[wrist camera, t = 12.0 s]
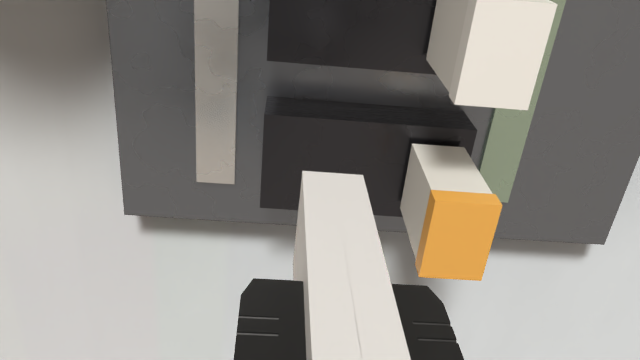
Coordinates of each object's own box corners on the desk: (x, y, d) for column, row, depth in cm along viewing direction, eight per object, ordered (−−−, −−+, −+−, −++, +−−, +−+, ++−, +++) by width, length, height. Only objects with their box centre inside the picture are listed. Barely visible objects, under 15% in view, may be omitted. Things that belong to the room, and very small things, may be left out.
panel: (133, 197, 26) (110, 240, 23) (96, -298, 18) (52, -337, 14) (589, 227, 27) (625, 270, 24) (756, -218, 19) (844, -237, 16)
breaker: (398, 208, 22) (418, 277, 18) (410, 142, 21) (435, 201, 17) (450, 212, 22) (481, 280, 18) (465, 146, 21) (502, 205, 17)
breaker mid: (424, 60, 19) (454, 104, 16) (440, -28, 18) (477, -4, 14) (483, 65, 19) (527, 110, 16) (503, -22, 18) (557, 4, 14)
